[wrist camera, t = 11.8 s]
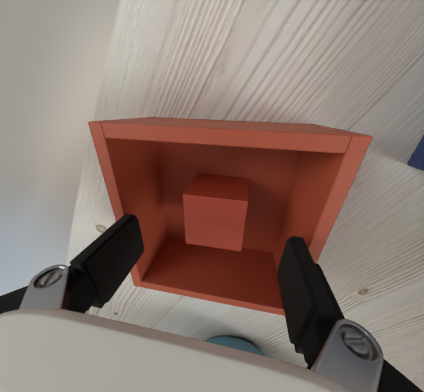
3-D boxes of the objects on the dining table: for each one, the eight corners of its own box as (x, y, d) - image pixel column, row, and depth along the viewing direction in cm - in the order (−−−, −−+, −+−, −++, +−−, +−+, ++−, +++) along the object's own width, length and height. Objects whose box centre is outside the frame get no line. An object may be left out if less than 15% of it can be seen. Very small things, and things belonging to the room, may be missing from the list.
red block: (198, 213, 18) (185, 243, 14) (198, 173, 16) (182, 194, 12) (242, 219, 17) (240, 251, 13) (247, 177, 15) (248, 201, 11)
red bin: (165, 236, 21) (133, 286, 15) (150, 117, 15) (87, 121, 9) (277, 253, 19) (292, 317, 13) (314, 124, 13) (373, 136, 7)
